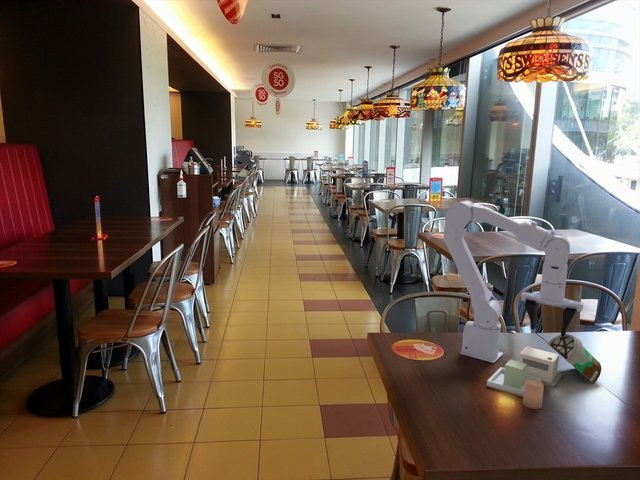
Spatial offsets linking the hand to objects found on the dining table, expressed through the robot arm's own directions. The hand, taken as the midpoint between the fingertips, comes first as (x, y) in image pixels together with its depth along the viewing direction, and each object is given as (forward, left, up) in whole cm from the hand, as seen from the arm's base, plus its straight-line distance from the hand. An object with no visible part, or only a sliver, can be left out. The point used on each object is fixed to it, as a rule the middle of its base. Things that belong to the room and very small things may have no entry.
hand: (548, 331), depth 129 cm
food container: (+11, +3, -8) cm, 14 cm away
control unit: (0, -7, -10) cm, 12 cm away
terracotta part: (+3, -23, -10) cm, 25 cm away
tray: (-3, -16, -10) cm, 19 cm away
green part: (-3, -16, -10) cm, 19 cm away
